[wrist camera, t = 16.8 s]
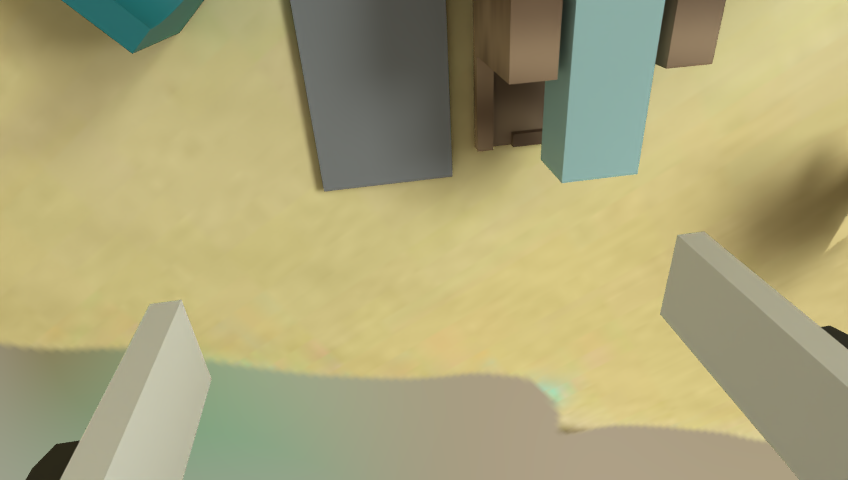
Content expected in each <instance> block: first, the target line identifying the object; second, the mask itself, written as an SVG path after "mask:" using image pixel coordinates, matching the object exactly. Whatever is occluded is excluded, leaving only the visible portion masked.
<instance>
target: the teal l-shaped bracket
mask: <svg viewBox="0 0 848 480" xmlns="http://www.w3.org/2000/svg"><path fill="white" fill-rule="evenodd" d="M62 1H63V2H65V3H66V4H67V5H69V6H70V7H71V8H73V9H74V10H75V11H77V12H78V13H79V14H81V15H82V16H83V17H84V18H86V19H87V20H88V21H90V22H91V23H92V24H94V25H95V26H96V27H98V28H99V29H100V30H102V31H103V32H104V33H106V34H107V35H108V36H110V37H111V38H112V39H114V40H115V41H116V42H118V43H119V44H120V45H122V46H123V47H124V48H126V49H127V50H128V51H130V52H131V53H132V54H133V53H135V52H137V51H139V50H142V49H144V48H146V47H148V46H151V45H153V44H155V43H157V42H160V41H162V40H164V39H166V38H169V37H171V36H173V35H175V34H178V33H180V31H181V30H182V29H183V27H184V26H185V25H186V23H187V22H188V21H189V19H190V18H191V17H192V15H193V14H194V13H195V12H196V10H197V9H198V8H199V6H200V5H201V4H202V2H203V1H204V0H62Z"/></svg>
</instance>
